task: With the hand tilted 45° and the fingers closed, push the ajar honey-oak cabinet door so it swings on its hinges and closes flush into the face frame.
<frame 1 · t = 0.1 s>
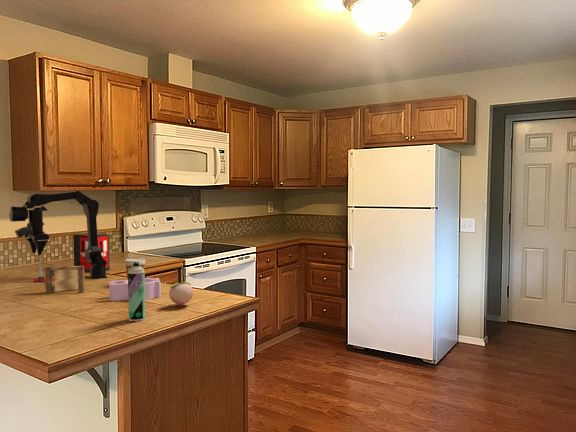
hand: (36, 254, 217), 15 cm above the countertop, tool pointing down, fingers open, 9 cm apart
clip: (135, 298, 194), on the countertop
cleaning product box: (91, 271, 258), on the countertop
door: (65, 279, 206), point 5 cm above the countertop, hinge at 35.0°
tow hook: (45, 281, 230), on the countertop
disposable coffee cup: (135, 285, 220), on the countertop
decorative fruit: (182, 306, 180), on the countertop
frame: (53, 292, 203), on the countertop
spray can: (137, 320, 162), on the countertop
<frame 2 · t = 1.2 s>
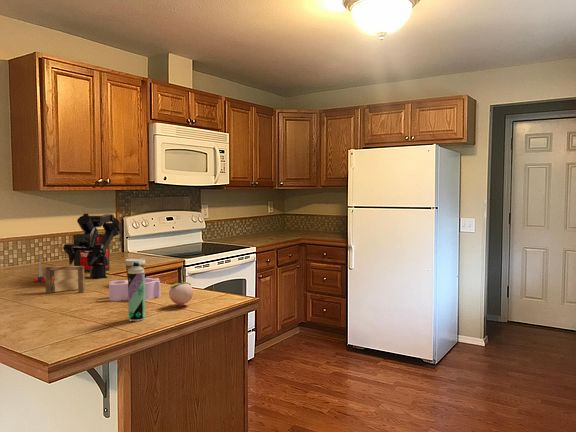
hand: (80, 264, 217), 10 cm above the countertop, tool tilted 40°, fingers open, 9 cm apart
cleaning product box: (91, 271, 258), on the countertop, touching arm
everything else where it was.
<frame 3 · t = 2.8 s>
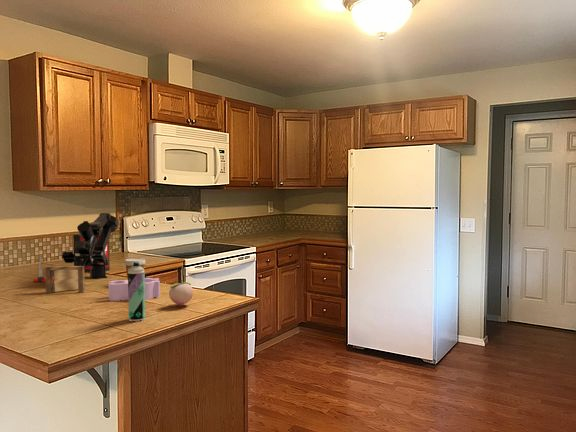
hand: (79, 271, 213), 7 cm above the countertop, tool tilted 45°, fingers closed
cleaning product box: (91, 270, 258), on the countertop
everything else where it was.
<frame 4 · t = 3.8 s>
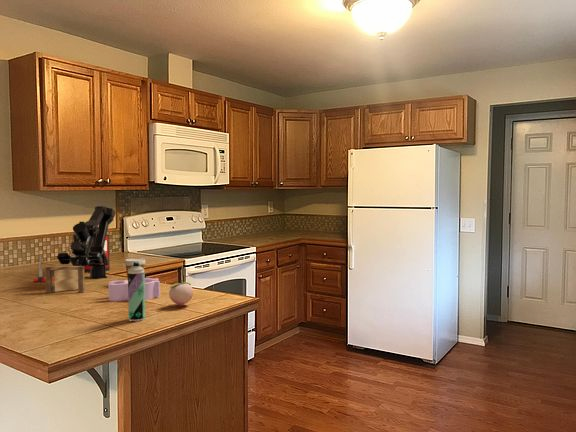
hand: (75, 273, 209), 7 cm above the countertop, tool tilted 45°, fingers closed
door: (65, 279, 206), point 5 cm above the countertop, hinge at 33.5°, touching gripper
everything else where it was.
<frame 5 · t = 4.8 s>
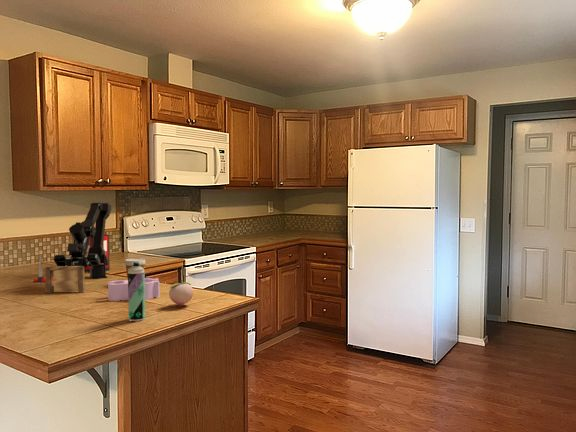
hand: (72, 275, 204), 7 cm above the countertop, tool tilted 45°, fingers closed on door, 2 cm apart
door: (65, 280, 204), point 5 cm above the countertop, hinge at 4.2°, touching gripper
everything else where it was.
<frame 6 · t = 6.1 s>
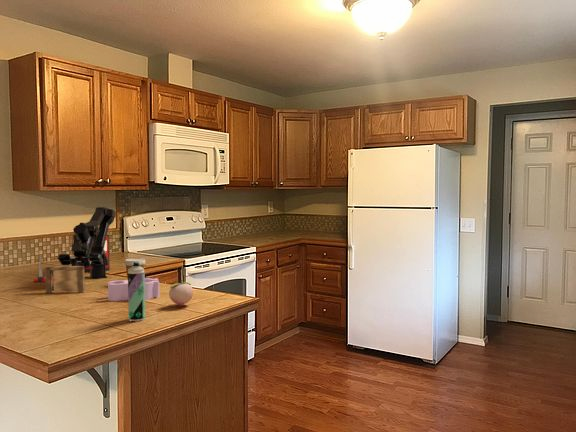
hand: (76, 274, 210), 6 cm above the countertop, tool tilted 45°, fingers closed
door: (65, 280, 203), point 5 cm above the countertop, hinge at 1.7°
everything else where it was.
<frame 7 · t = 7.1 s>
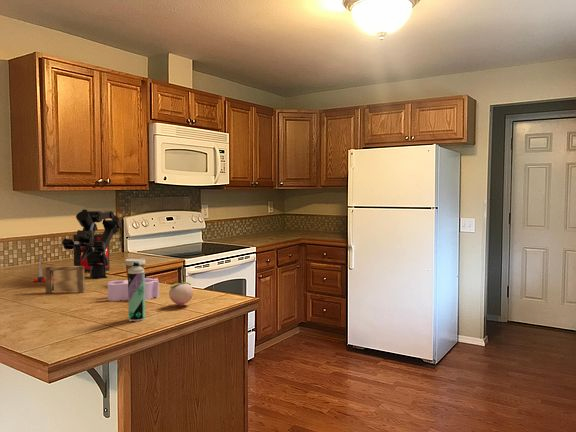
hand: (79, 260, 216), 12 cm above the countertop, tool tilted 40°, fingers closed
nothing on the countertop moved.
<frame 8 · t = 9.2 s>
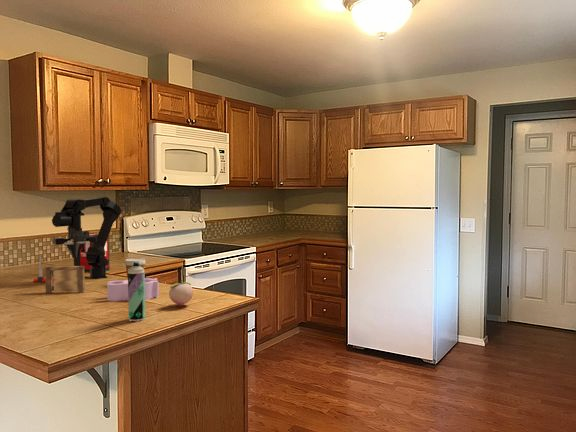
hand: (75, 257, 224), 12 cm above the countertop, tool pointing down, fingers closed
nothing on the countertop moved.
at the end: door at +2° (first picture: +35°) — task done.
